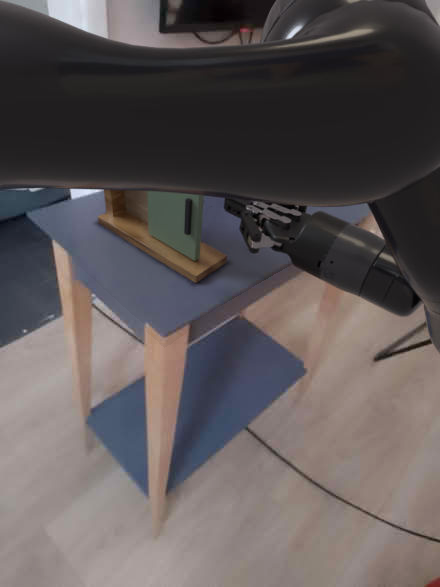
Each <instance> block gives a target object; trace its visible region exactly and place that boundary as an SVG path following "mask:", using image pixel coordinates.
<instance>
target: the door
mask: <svg viewBox="0 0 440 587" xmlns="http://www.w3.org/2000/svg"><path fill="white" fill-rule="evenodd" d="M147 194H148V225H149V234H150V235H152V236H153V237H155V238H157V239H158V240H160V241H162V242H163V243H165V244H167V245H169V246H170V247H172V248H174V249H175V250H177V251H179V252H180V253H182V254H184V255H186V256H187V257H189V258H191V259H192V260H194V261H196V260H197V259H199V258H200V245H201V241H202V229H203V215H204V203H205V202H204V201H205V196H201V195H192V194H182V193H170V192H157V191H147Z"/></svg>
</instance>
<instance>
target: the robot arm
mask: <svg viewBox="0 0 440 587" xmlns="http://www.w3.org/2000/svg"><path fill="white" fill-rule="evenodd" d="M18 189H19V190H20V189H59V190H60V189H62V190H63V189H64V190H99V191H100V190H101V191H104V190H127V191H157V192H170V193H182V194H192V195H201V196H204V197H211V198H219V199H220V198H221V199H224V201H223V209H224V211H225V212H226V213H228V214H230V215H232V216H234V217H236V218H238V219H240V224H239V228H238V230H239V232H240V234H241V236H242V238H243V241H244V243H245V245H246V247H247V249H248V252H250V253H251V254H258V253H259V252H260V248H270V249H271V250H272V251H274V252H276V253H282V254H285V255H287V256H288V257H289V259H290V262H291V264H292V266H294V267H295V268H297V269H299V270H301V271H303V272H305V273H307V274H309V275H311V276H313V277H315V278H317V279H318V280H321V281H322V282H325V283H326V284H328V285H331V286H332V287H335V288H336V289H338V290H340V291H343V292H346V293H349V294H351V295H354V296H356V297H359V298H360V299H362V300H364V301H366V302H368V303H370V304H372V305H374V306H376V307H378V308H380V309H382V310H384V311H386V312H388V313H389V314H392V315H395V316H397V317H400V318H407V317H410V316H412V315H413V314H414V313H415V312H416V311H417V310H418V309H419V308H420V307H421V306H423V312H424V317H425V323H426V329H427V333H428V336H429V339H430V341H431V343H432V345H433V346H434V349H435V350H436V351H437V353H439V354H440V24H439V23H438V20H437V18H436V17H435V16H434V14H433V12H432V10H431V8H430V7H429V5H428V4H427V1H426V0H275V1H274V3H273V5H272V7H271V8H270V11H269V13H268V15H267V17H266V20H265V22H264V24H263V27H262V31H261V35H260V39H259V42H254V43H253V42H252V43H244V44H233V45H232V44H231V45H230V44H229V45H213V46H211V45H210V46H194V47H157V46H156V47H155V46H146V45H138V44H131V43H127V42H123V41H118V40H114V39H110V38H107V37H104V36H101V35H98V34H95V33H92V32H89V31H86V30H84V29H82V28H79V27H77V26H75V25H72V24H70V23H67V22H65V21H62V20H60V19H59V18H55V17H53V16H50V15H48V14H45V13H42V12H40V11H37V10H34V9H31V8H29V7H26V6H23V5H19V4H17V3H13V2H8V1H5V0H0V191H1V190H18ZM363 204H367V207H368V208H369V210H370V212H371V214H372V216H373V218H374V221H375V222H376V225H377V226H378V228H379V231H380V233H381V235H382V237H383V238H382V237H381V236H379V235H378V234H376V233H374V232H372V231H370V230H367V229H366V228H363V227H360V226H359V225H355V224H354V223H351V222H349V221H347V220H344V219H342V218H339V217H337V216H334V215H332V214H330V213H328V212H325V211H322V210H318V211H315V212H313V213H312V214H310V213H308V212H307V210H308V207H316V208H338V207H342V208H343V207H350V206H357V205H358V206H359V205H363Z"/></svg>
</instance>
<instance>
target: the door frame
mask: <svg viewBox="0 0 440 587" xmlns="http://www.w3.org/2000/svg"><path fill="white" fill-rule="evenodd" d="M103 194H104V205H105V212H104V213H102V214H100V215H98V216H97V222H98V224H99V225H100V226H102V227H104V228H105V229H106V230H108V231H110V232H112V233H113V234H115V235H117V236H119V237H120V238H122V239H123V240H125V241H127V242H128V243H130V244H132V245H133V246H135V247H136V248H138V249H140V250H141V251H143V252H144V253H145V254H148V255H149V256H151V257H153V258H154V259H156V260H157V261H159V262H160V263H162V264H164V265H165V266H167V267H169V268H170V269H172V270H173V271H175V272H177V273H178V274H180V275H182V276H183V277H185V278H187V279H188V280H190V281H191V282H193V283H195V284H197V283H198V282H200V281H201V280H203V279H204V278H206V277H207V276H209V275H210V274H212V273H214V272H215V271H216V270H218V269H220V268H221V267H222V266H224V265H225V264H227V261H228V260H227V259H228V254H225V253H224V252H221V251H220V250H218V249H216V248H214V247H212V246H211V245H209V244H208V243H205V242H204V241H202V240H201V245H200V258H199V259H197V260H196V261H194V260H192V259H191V258H189V257H187V256H186V255H184V254H182V253H180V252H179V251H177V250H175V249H174V248H172V247H170V246H169V245H167V244H165V243H163V242H162V241H160V240H158V239H157V238H155V237H153V236H152V235H150V234H149V225H148V194H147V191H127V190H103Z"/></svg>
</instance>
